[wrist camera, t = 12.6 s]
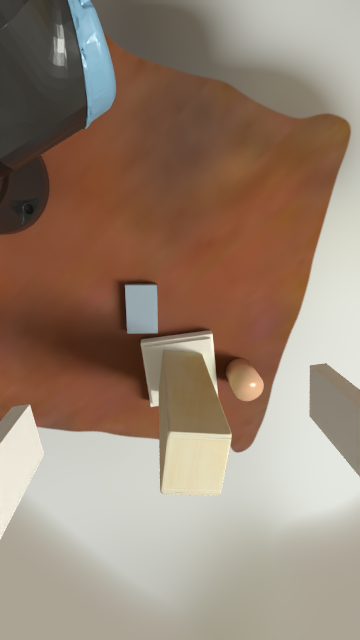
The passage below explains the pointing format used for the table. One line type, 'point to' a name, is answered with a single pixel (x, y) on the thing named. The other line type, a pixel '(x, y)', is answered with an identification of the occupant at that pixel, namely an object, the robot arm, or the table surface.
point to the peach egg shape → (244, 379)
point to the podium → (181, 343)
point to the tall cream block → (190, 427)
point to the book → (141, 308)
